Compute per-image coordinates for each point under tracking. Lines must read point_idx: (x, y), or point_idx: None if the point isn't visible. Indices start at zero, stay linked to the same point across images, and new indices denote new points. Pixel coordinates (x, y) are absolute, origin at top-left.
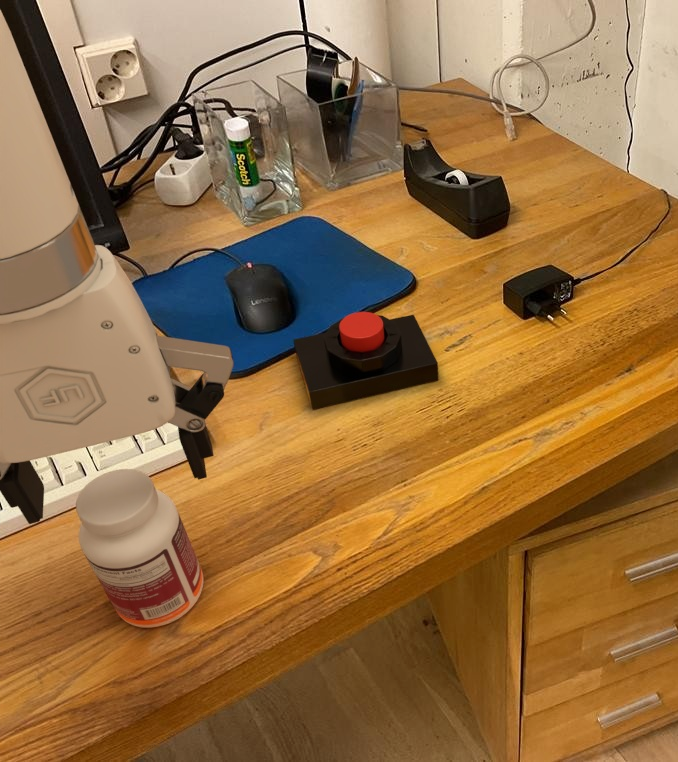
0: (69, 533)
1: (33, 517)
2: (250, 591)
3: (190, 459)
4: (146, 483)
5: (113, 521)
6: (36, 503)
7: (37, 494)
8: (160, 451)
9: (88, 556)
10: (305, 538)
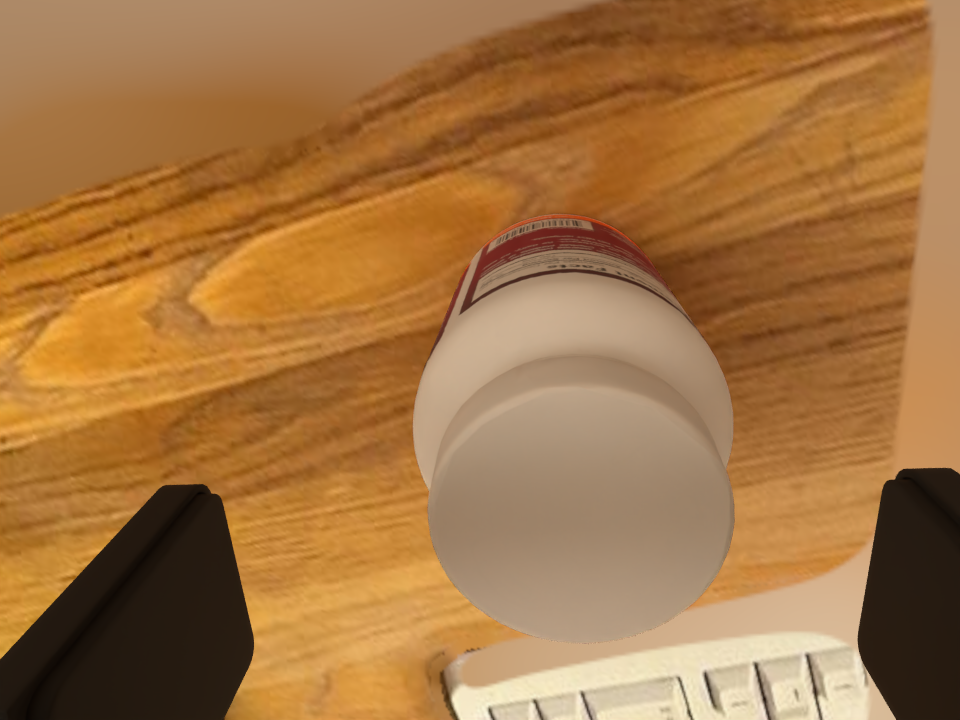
0: (751, 537)
1: (937, 485)
2: (353, 254)
3: (134, 574)
4: (454, 546)
5: (585, 395)
6: (920, 554)
7: (906, 605)
8: (544, 685)
9: (706, 344)
10: (227, 364)
